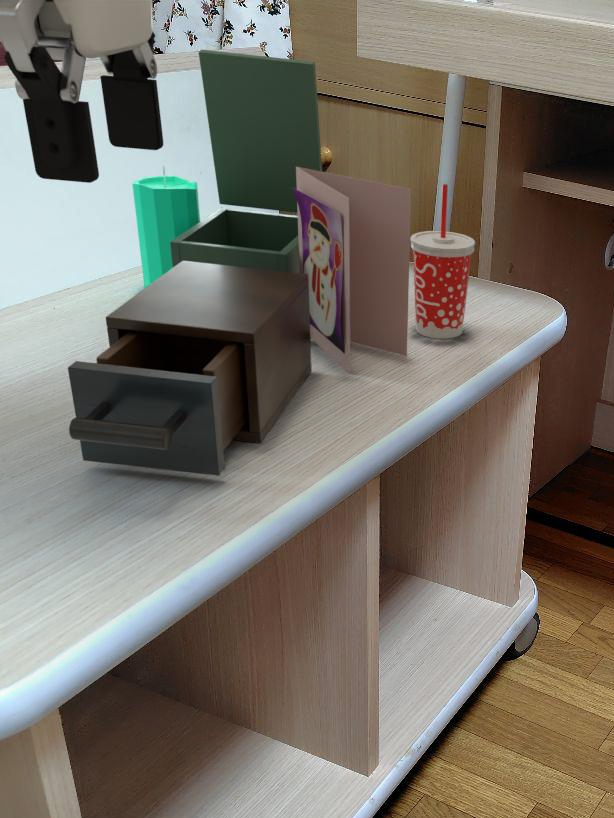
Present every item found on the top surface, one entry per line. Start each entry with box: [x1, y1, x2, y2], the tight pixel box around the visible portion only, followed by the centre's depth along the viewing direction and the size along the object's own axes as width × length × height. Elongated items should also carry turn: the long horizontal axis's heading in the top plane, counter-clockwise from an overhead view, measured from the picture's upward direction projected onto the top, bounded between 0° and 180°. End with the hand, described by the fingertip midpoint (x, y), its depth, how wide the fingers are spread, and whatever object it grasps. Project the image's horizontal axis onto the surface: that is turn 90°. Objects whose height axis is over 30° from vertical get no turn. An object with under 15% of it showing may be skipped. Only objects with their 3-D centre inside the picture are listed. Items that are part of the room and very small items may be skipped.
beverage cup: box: [410, 183, 476, 340], centre depth 94 cm, size 6×6×14 cm
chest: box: [170, 207, 300, 274], centre depth 97 cm, size 14×11×8 cm
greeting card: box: [292, 167, 412, 374], centre depth 88 cm, size 11×7×15 cm, turn 33°
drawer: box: [67, 330, 249, 477], centre depth 70 cm, size 18×9×7 cm, turn 176°
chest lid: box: [198, 49, 323, 214], centre depth 95 cm, size 14×11×1 cm
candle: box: [131, 165, 201, 289], centre depth 99 cm, size 6×6×12 cm
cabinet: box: [105, 261, 312, 444], centre depth 78 cm, size 15×11×9 cm
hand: (105, 162), depth 58 cm, fingers open, 9 cm apart
